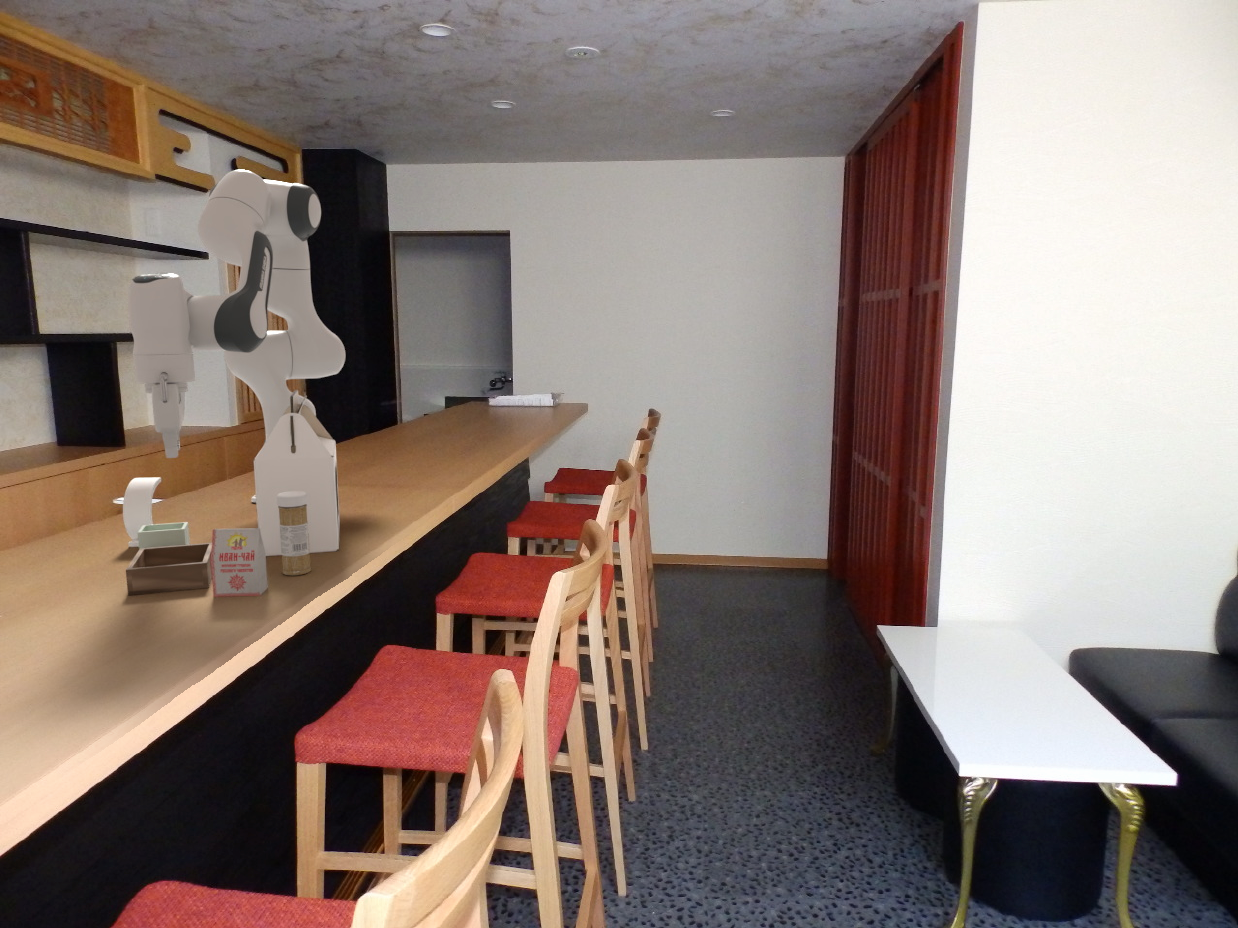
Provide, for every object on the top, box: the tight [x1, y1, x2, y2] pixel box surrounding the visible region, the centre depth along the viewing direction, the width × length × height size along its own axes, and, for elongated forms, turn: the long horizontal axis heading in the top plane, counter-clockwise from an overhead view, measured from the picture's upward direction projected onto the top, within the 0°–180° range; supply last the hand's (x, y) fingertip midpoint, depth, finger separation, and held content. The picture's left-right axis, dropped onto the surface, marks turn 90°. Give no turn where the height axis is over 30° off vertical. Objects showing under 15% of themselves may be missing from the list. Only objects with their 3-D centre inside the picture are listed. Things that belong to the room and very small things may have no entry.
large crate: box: [125, 542, 212, 596], centre depth 134 cm, size 13×11×4 cm
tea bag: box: [211, 527, 268, 598], centre depth 128 cm, size 4×7×10 cm, turn 96°
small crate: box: [138, 521, 191, 550], centre depth 144 cm, size 7×6×6 cm
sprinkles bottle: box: [277, 491, 312, 576], centre depth 137 cm, size 5×5×14 cm
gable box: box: [253, 389, 341, 557], centre depth 158 cm, size 22×13×28 cm, turn 18°
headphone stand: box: [122, 476, 162, 548], centre depth 155 cm, size 5×6×12 cm
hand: (173, 454), depth 142 cm, fingers open, 8 cm apart
